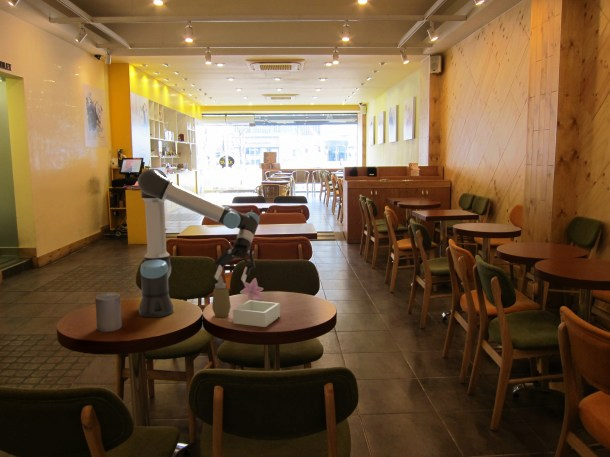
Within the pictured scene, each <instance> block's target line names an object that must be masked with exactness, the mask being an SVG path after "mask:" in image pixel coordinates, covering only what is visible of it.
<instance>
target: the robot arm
mask: <svg viewBox="0 0 610 457" xmlns="http://www.w3.org/2000/svg"><path fill="white" fill-rule="evenodd" d="M137 185H138V188H139V189H140V194H141V195H140V196H141V199H142V200H143V201H144V206H145V208H144V209H145V226H146V247H147V249H146V250H147V252H146V254H144V256H143V257H144V262H142V263H141V264H140V270H139V271H140V280H141V281H140V283H141V300H140V304H139V308H138V315H139V317H143V318H159V317H165V316H169V315H171V314H173V313H174V310H175V309H174V305H173V303H172V300H171V297H170V293H169V291H170V290H169V289H170V288H169V278H170V277H171V274H172V269H173V268H172V265H171V255H170V253H169V252H168V251H167V239H166V238H167V235H166V215H165V214H166V213H165V211H166V210H165V201H166V200H167V201H169V202H171V203H174V204H176V205H178V206H180V207H182V208H185V209H187V210H189V211H192V212H194V213H197V214H199V215H200V216H203V217H206V218H207V219H209V220H212V221H214V222H216V223H219V224H220V225H223V226H224V227H226V228H228V229H230V230H233V229H236V228H237V229H239V230H238V234H237V235H236V238H235V241H234V244H233V248H229V247H226V249H225V251H224V252H223V253H222V254H221V255H219V257H218V258H216V260H215V261H214V264H215V266H216V267H215V274H214V279H215V280H216V281H218V279H219V276H221V274H222V271H223V266H226V265H227V264H228V263H229V262H231V261H233V260H234V259H235V260H236V259H239V260H242V259H243V260H244V263H245V265H246V266H245V267H244V269H243V273H242V275H241V277H240V280H241V281H242V283H243V282H246V280H247V277H248V276H249V275H250V273H251V270H252V269H253V270H254V269H256V264H255V256H254V254H255V251H254V249H253V248H251V247H252V246H251V245H252V242H253V240H254V238H255V235H256V232H257V229H258V227H259V224H260V219H261V218H260V216H259V215H258V214H257V213H255V212H251V211H248V212H247V213H243V212H240V211H238V210H236V209H233V208H232V207H231V206H227V205H221V204H218V203H216V202H213V201H211V200H209V199H208V198H205V197H202V196H200V195H198V194H197V193H194V192H192V191H191V190H187V189H185V188H183V187H181V186H179V185H178V184H175V183H174V182H173V180H172V179H170V178H168V177H167V175H166V174H165V172H164V171H162V170H161V169H158V168H149V169H146V170H144V171H142V172H141V173H140V174H139V176H138V178H137ZM247 255H249V260H248V259H247ZM249 261H250V263H249Z"/></svg>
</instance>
